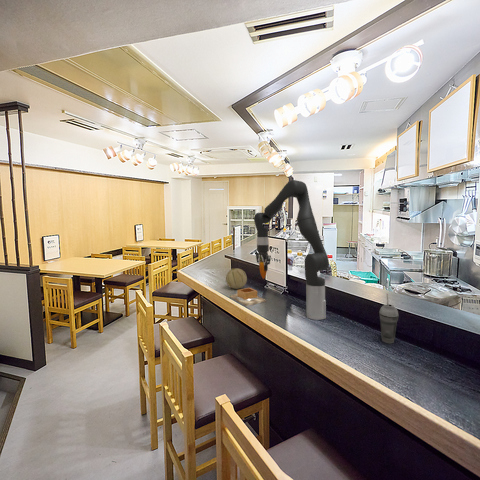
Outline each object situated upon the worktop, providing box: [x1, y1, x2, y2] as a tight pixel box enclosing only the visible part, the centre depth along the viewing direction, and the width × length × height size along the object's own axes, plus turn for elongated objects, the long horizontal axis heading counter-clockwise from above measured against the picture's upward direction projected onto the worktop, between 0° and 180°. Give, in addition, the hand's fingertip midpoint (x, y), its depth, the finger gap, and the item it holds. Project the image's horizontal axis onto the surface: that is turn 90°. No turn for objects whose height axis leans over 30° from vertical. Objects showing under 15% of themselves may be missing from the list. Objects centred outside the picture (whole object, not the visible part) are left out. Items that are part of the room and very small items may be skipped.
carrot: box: [258, 257, 268, 280], centre depth 179 cm, size 5×5×15 cm
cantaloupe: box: [225, 267, 248, 290], centre depth 199 cm, size 15×15×15 cm
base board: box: [229, 293, 267, 307], centre depth 175 cm, size 14×20×1 cm
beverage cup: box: [378, 293, 399, 344], centre depth 116 cm, size 7×7×20 cm
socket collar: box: [236, 287, 258, 301], centre depth 175 cm, size 13×13×5 cm
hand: (263, 270), depth 180 cm, fingers closed on carrot, 4 cm apart
